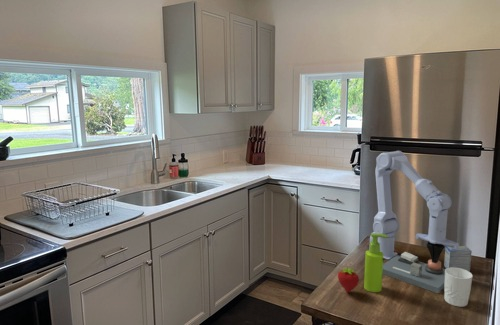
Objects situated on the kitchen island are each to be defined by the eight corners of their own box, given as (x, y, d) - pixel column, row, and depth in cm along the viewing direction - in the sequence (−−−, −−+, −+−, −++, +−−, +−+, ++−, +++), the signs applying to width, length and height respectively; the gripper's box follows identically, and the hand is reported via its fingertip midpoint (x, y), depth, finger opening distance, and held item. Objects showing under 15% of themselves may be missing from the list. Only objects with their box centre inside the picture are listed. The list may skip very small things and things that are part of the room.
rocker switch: (400, 257, 149) (401, 254, 149) (404, 254, 152) (405, 251, 151) (413, 262, 146) (414, 259, 145) (417, 259, 148) (418, 257, 148)
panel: (377, 272, 145) (378, 264, 144) (397, 259, 156) (397, 252, 155) (438, 293, 129) (438, 285, 128) (454, 277, 140) (455, 269, 139)
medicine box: (464, 266, 148) (466, 245, 147) (469, 272, 144) (472, 250, 143) (443, 266, 149) (445, 245, 148) (448, 271, 145) (450, 249, 143)
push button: (425, 267, 141) (426, 261, 140) (430, 264, 144) (430, 258, 143) (438, 271, 138) (438, 265, 137) (442, 267, 141) (443, 261, 140)
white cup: (445, 292, 129) (448, 265, 128) (471, 300, 125) (474, 271, 123) (439, 302, 124) (442, 273, 122) (467, 310, 119) (470, 281, 117)
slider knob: (410, 273, 138) (410, 264, 138) (413, 271, 140) (413, 262, 139) (418, 276, 136) (419, 267, 135) (421, 274, 138) (422, 265, 137)
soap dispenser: (385, 293, 129) (388, 237, 126) (364, 291, 131) (367, 236, 127) (383, 285, 135) (386, 231, 132) (363, 283, 136) (365, 230, 133)
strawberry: (352, 299, 126) (353, 271, 124) (333, 291, 131) (334, 264, 130) (362, 293, 130) (363, 266, 128) (343, 285, 135) (344, 259, 133)
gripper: (412, 225, 140) (410, 259, 143) (455, 235, 130) (451, 271, 133) (420, 220, 145) (418, 253, 148) (462, 229, 135) (458, 265, 137)
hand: (434, 262), depth 140 cm, fingers closed, pressing on push button
